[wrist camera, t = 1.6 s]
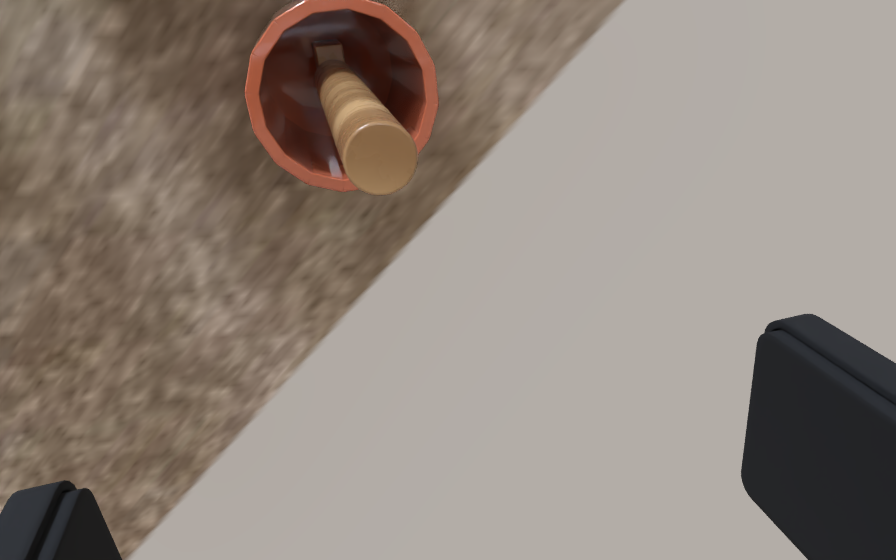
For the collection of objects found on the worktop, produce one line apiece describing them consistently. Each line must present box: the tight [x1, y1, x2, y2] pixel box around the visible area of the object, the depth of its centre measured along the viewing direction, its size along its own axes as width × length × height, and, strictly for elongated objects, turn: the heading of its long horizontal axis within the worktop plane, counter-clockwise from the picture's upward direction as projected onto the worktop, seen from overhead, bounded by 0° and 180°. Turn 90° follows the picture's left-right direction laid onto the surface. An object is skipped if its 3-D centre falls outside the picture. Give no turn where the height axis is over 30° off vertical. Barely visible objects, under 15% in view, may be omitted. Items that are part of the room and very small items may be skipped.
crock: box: [244, 0, 439, 192], centre depth 28 cm, size 7×7×9 cm
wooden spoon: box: [312, 39, 418, 195], centre depth 23 cm, size 3×2×18 cm, turn 6°
